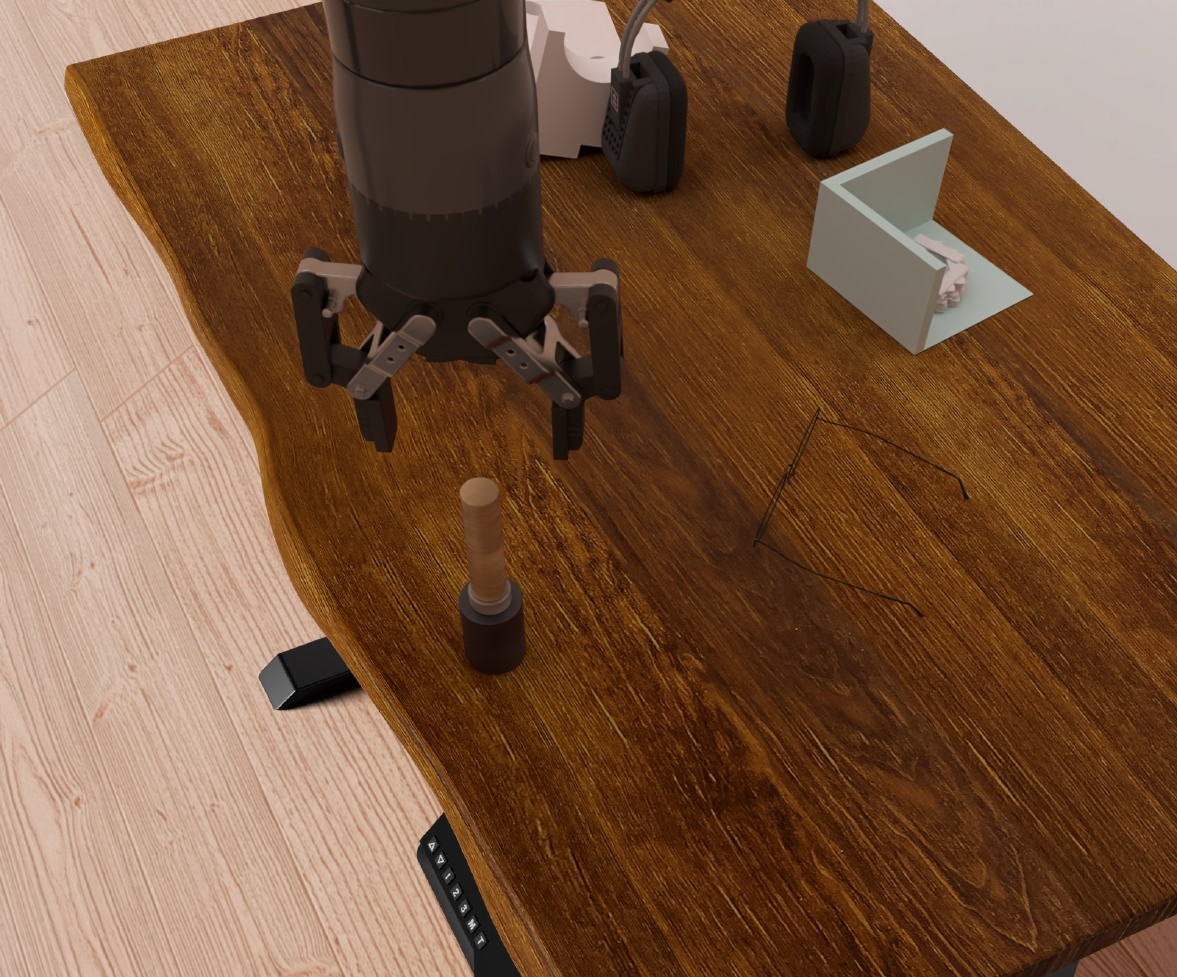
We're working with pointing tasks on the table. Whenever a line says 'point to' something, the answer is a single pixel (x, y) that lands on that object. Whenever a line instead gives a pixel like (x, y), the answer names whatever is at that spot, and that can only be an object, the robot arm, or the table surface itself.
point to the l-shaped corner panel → (904, 248)
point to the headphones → (660, 100)
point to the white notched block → (576, 69)
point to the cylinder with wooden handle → (489, 585)
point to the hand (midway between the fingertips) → (474, 443)
